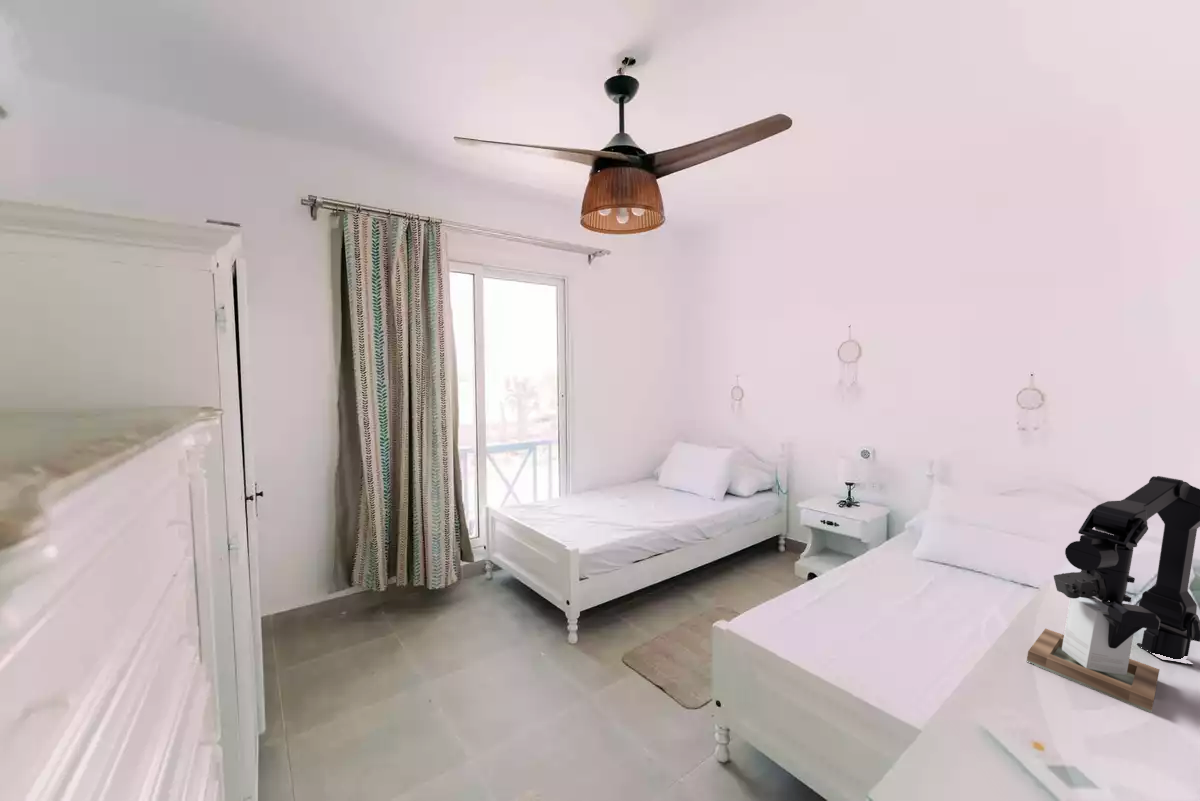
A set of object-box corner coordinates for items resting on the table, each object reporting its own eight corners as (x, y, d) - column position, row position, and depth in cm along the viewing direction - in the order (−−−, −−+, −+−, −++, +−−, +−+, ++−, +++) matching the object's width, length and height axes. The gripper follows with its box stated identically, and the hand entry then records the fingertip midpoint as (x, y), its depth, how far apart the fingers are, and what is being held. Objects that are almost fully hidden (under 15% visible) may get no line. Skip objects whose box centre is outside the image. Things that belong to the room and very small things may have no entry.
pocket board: (1043, 638, 117) (1045, 628, 116) (1157, 680, 103) (1159, 669, 102) (1026, 661, 105) (1028, 650, 105) (1151, 713, 91) (1153, 700, 91)
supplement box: (1128, 676, 100) (1138, 617, 99) (1085, 669, 101) (1095, 610, 100) (1099, 656, 107) (1108, 600, 106) (1059, 649, 108) (1069, 594, 107)
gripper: (1035, 544, 113) (1024, 609, 114) (1100, 578, 95) (1087, 655, 96) (1091, 552, 111) (1080, 618, 112) (1169, 588, 93) (1154, 667, 94)
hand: (1097, 637), depth 103 cm, fingers closed on supplement box, 7 cm apart
